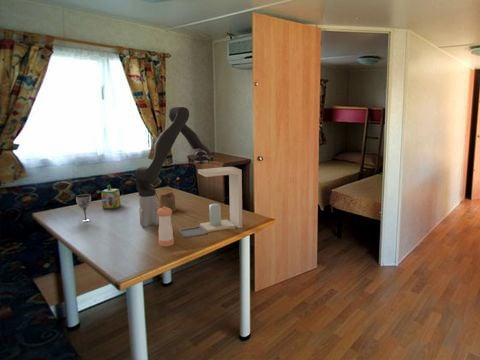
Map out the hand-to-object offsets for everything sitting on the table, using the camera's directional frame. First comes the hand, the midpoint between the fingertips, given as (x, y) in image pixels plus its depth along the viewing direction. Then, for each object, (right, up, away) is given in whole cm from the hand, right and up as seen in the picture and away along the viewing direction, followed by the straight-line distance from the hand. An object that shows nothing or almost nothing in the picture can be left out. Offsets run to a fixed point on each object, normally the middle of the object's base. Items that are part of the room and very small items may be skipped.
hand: (200, 160), depth 199 cm
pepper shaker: (-13, -42, -30) cm, 53 cm away
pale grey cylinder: (+9, -35, -7) cm, 37 cm away
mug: (-27, -31, +29) cm, 50 cm away
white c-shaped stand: (+11, -37, -6) cm, 39 cm away
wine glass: (-69, -35, +10) cm, 78 cm away
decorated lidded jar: (-64, -29, +39) cm, 80 cm away
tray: (-2, -39, -15) cm, 42 cm away
